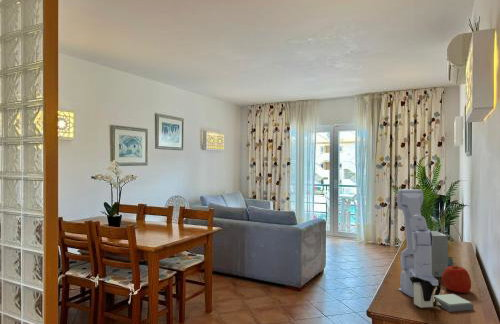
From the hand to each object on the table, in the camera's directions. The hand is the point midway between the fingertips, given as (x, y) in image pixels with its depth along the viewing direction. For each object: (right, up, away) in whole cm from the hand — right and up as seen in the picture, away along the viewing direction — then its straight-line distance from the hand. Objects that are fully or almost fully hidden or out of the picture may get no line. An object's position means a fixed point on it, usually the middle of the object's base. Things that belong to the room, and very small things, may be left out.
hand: (423, 298), depth 132 cm
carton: (0, -2, 0) cm, 2 cm away
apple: (+23, -4, +18) cm, 30 cm away
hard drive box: (+27, -4, +43) cm, 51 cm away
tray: (+12, -3, +2) cm, 12 cm away
